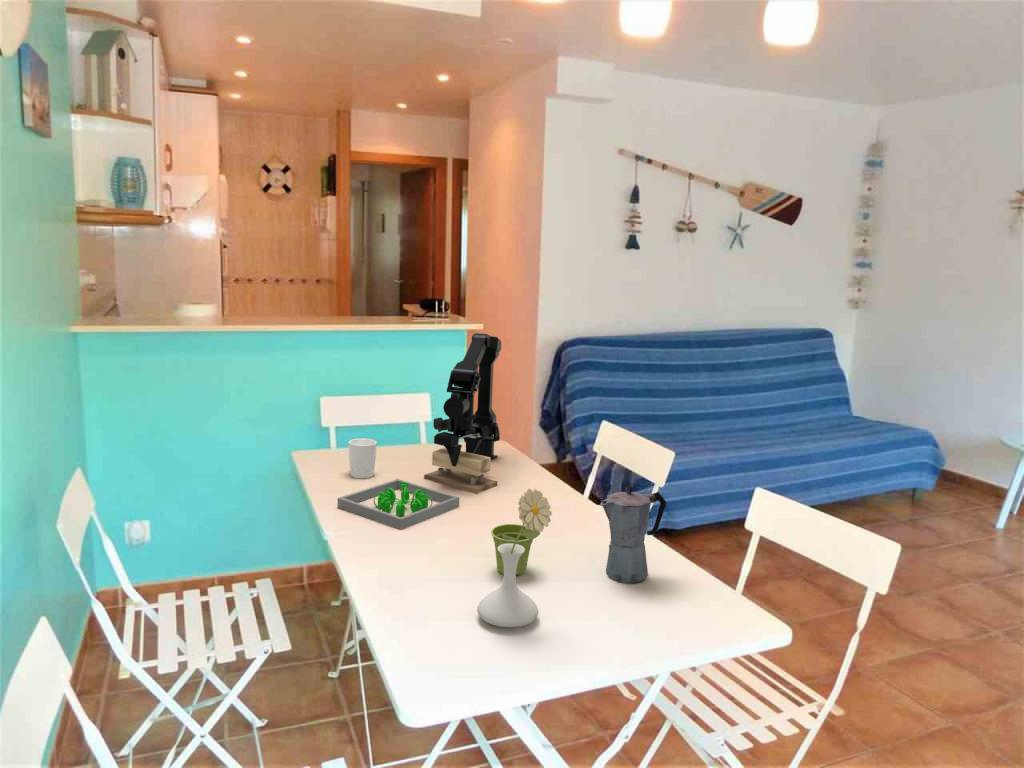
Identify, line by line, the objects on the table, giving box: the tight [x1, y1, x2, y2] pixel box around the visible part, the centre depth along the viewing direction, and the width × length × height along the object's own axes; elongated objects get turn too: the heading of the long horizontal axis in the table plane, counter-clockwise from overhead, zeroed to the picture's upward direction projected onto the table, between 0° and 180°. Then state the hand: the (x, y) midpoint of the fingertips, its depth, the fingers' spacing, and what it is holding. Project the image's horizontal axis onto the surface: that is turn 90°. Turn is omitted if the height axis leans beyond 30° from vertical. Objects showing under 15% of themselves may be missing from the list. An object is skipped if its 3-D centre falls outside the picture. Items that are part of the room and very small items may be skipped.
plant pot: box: [490, 523, 534, 576], centre depth 162 cm, size 9×9×9 cm
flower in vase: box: [476, 488, 553, 628], centre depth 140 cm, size 13×11×25 cm
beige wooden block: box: [431, 446, 492, 476], centre depth 218 cm, size 6×16×4 cm, turn 60°
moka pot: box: [599, 485, 667, 584], centre depth 162 cm, size 10×15×20 cm, turn 113°
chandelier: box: [373, 481, 433, 517], centre depth 195 cm, size 15×15×7 cm
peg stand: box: [423, 467, 498, 494], centre depth 219 cm, size 10×19×3 cm, turn 55°
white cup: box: [348, 437, 378, 479], centre depth 220 cm, size 8×8×10 cm
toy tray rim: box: [337, 478, 460, 530], centre depth 196 cm, size 22×22×2 cm
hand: (461, 463), depth 218 cm, fingers closed on beige wooden block, 6 cm apart
